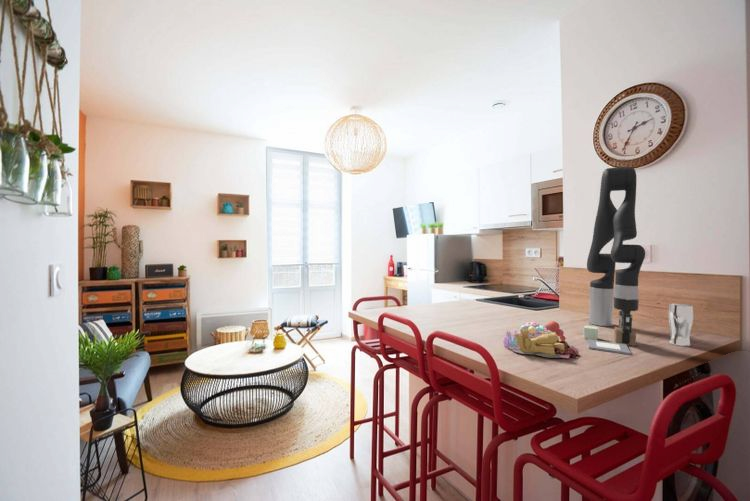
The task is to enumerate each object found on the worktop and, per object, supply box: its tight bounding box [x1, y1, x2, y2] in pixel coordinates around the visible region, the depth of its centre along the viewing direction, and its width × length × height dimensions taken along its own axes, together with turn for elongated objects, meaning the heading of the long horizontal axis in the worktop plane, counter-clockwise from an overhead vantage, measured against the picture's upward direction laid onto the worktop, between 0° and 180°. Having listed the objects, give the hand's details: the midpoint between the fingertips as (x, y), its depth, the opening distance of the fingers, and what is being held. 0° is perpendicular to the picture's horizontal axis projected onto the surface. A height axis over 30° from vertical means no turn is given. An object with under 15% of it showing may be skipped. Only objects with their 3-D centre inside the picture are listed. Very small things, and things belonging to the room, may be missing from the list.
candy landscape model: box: [502, 320, 580, 359], centre depth 122 cm, size 25×24×9 cm
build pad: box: [587, 339, 632, 356], centre depth 124 cm, size 12×12×1 cm
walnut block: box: [613, 326, 637, 347], centre depth 131 cm, size 6×6×5 cm
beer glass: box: [668, 302, 694, 347], centre depth 130 cm, size 7×7×15 cm
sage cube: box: [583, 325, 599, 341], centre depth 136 cm, size 4×4×4 cm
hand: (624, 340), depth 131 cm, fingers closed on walnut block, 6 cm apart
